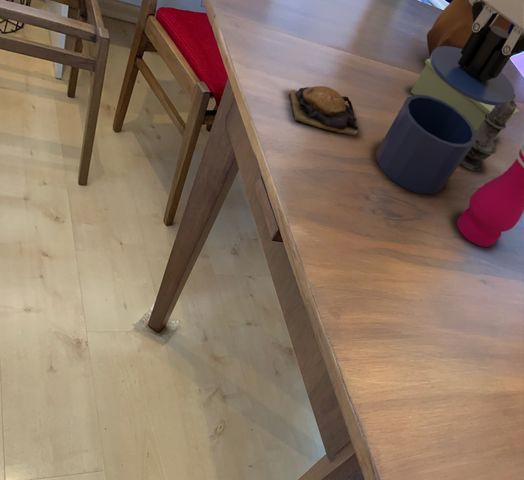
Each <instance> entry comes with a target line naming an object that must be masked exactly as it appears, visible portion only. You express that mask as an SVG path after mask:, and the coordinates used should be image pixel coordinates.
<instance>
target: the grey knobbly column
mask: <svg viewBox="0 0 524 480" xmlns="http://www.w3.org/2000/svg"><path fill="white" fill-rule="evenodd" d="M514 99H516V94H515V93H514V97H513V99H512V100H511V102H510V103H508V104H506V105H502V106H495V107H494V108H493V109H492V111H491V112H490V114H486V115H485V120H484V121H483V123H482V124H481V126H480V127H479V128H478V129H477V130H475V132H476V135H477V137H476V140H475V144H474V145H473V146H472V148H471V149H470V151H469V152H468V153H467V155H466V156H465V157H464V159H463V160H462V162H461V163H460V164H459V165H461V166H462V167H464V168H465V169H468V170H470V171H480V170H482V167H483V164H482V161H484V160H487V159H488V158H489V157H491V156H492V155H494V154H496V153H497V146H496V143H495V140H496V139H495V137H496V136H497V135H498V133H499V132H500V131H501V129H503V130H505V129H506V127H507V125H506V124H505V123H506V122H507V121H508V119H509V118H510V117H511V115H512V114H513V113H514V111H515V109H516V108H517V103H516V102H515V100H514ZM501 132H502V131H501ZM498 136H499V135H498ZM494 139H495V140H494Z"/></svg>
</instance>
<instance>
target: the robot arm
mask: <svg viewBox="0 0 524 480" xmlns="http://www.w3.org/2000/svg"><path fill="white" fill-rule="evenodd" d="M469 2H470V4H471V5H472V15H473V25H472V31H473V32H472V34H471V36H470V37H469V39H468V41H467V42H466V44H465V46H464V47H463V49H462V51H461V54H462V57H461V58H460V60H459V62H458V64H459V65H460V66H465V65H466V64H467V63H468V61H469V60H470V58H471V56H472V55H473V53H474V51H475V50H476V48H477V46H478V45H479V43H480V42H481V40H482V38H483V37H484V35H485V33H486V32H487V30H488V28H489V27H490V26H491V25H492V24H493V22H494V21H495V20H496V18H497V17H498V15H499V14H500V15H502V16H503V17H504V18H506V19H507V20H508V21H510V22H511V23H512V25H514V26H513V28H512V30H511V31H510V33H509V37H508V39H507V40H506V42H505V44H504V45H503V46H502V47H501V49H499V50H496V51H495V52H494V54H493V56H492V57H491V59H490V60H489V62H488V63H487V65H486V66H485V68H484V70H483V71H482V73H481V74H480V76H479V81H481V82H485V81H488V80H490V79H492V78H493V79H494V78H496V77H497V76H498V75H499V74H500V72H502V71H503V70H504V68H505V66H506V65H507V63H508V62H509V61H510V59H511V57H513V54H517V53H520V52H523V51H524V0H469Z"/></svg>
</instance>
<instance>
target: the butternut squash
mask: <svg viewBox="0 0 524 480" xmlns="http://www.w3.org/2000/svg"><path fill="white" fill-rule="evenodd" d="M472 25H473V15H472V5H471V4H470V2H469V0H451V2H450V3H449V4H448V5H447V6H446V7H444V9H443V10H442V11H441V12H440V14H439V15H438V16H437V18H436V20H435V21H434V23H433V25H432V27H431V28H430V29H429V30H428V32H427V33H426V42H427V49H428V56H429V57H430V56H431V54H432V52H433V50H434V49H436V48H438V47H442V46H450V47H456V48H460V49H463V47H464V46H465V44H466V42H467V41H468V39H469V37H470V36H471V34H472V32H473V31H472ZM492 25H493V26H497V27H500V28H502V29H503V30H505V31H506V32H507V33H508V32H509V30H510V28H511V25H513V23H511V22H510V21H508V20H507V19H506V18H504V17H503V16H502V15H500V14H499V15H498V17H497V18H496V20H495V21H494V22H493V24H492ZM492 25H491V26H492ZM508 34H509V33H508Z"/></svg>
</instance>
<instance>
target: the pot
mask: <svg viewBox="0 0 524 480" xmlns="http://www.w3.org/2000/svg"><path fill="white" fill-rule="evenodd" d="M387 130H388V131H387V132H386V134H385V136H384V138H383V139H382V141H381V143H380V145H379V147H378V148H377V150H376V154H375V156H376V157H375V158H376V161H377V164H378V165H379V168H380V169H381V171H382V172H383V173H384V174H385V176H387V177H388V178H389V179H390V180H391V181H392V182H394V183H395V184H396V185H398V186H400V187H402V188H403V189H406V190H408V191H409V192H413V193H415V194H421V195H433V194H435V193H438V192H440V191H441V190H442V189H443V188H444V187H445V185H446V184H447V182H448V181H449V180H450V178H451V177H452V176H453V174H454V173H455V171H456V170H457V169H458V167H459V166H460V165H461V164H460V163H461V162H462V160H463V159H464V157H465V156H466V155H467V153H468V152H469V151H470V149H471V148H472V146H473V145H474V144H475V140H476V137H477V135H476V132H475V129H474V127H473V126H472V125H471V123H470V122H469V121H468V119H467V118H466V117H465V116H464V115H463V114H461V113H460V112H459V111H458V110H457V109H455V108H454V107H452V106H450V105H449V104H447V103H445V102H443V101H442V100H439V99H436V98H433V97H430V96H426V95H414V94H412V95H410V96H407V97H406V98H405V100H404V102H403V104H402V105H401V107H400V109H399V111H398V113H397V115H396V116H395V118H394V120H393V122H392V123H391V125H390V127H389V128H388V129H387Z"/></svg>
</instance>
